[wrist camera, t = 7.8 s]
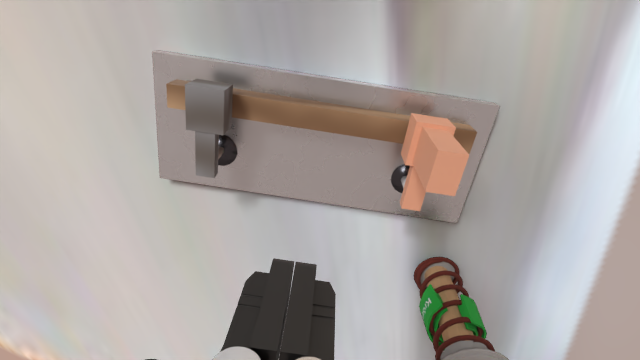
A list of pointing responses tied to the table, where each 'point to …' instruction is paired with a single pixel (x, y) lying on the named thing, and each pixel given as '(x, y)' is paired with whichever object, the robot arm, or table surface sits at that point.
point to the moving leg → (430, 160)
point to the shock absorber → (451, 313)
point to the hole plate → (311, 139)
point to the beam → (278, 117)
